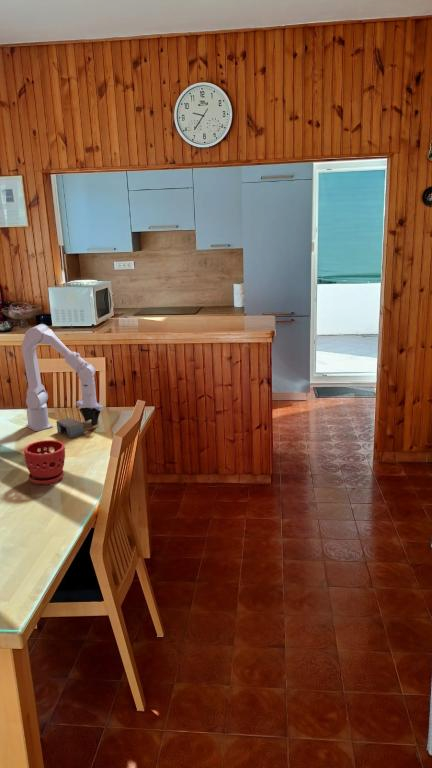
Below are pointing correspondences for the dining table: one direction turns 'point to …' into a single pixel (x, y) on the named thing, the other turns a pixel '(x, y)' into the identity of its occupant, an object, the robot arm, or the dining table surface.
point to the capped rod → (89, 425)
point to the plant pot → (45, 461)
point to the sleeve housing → (70, 427)
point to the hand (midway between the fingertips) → (91, 424)
